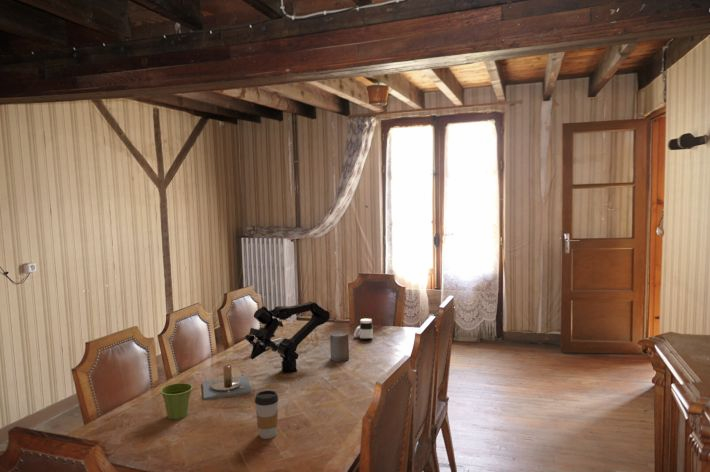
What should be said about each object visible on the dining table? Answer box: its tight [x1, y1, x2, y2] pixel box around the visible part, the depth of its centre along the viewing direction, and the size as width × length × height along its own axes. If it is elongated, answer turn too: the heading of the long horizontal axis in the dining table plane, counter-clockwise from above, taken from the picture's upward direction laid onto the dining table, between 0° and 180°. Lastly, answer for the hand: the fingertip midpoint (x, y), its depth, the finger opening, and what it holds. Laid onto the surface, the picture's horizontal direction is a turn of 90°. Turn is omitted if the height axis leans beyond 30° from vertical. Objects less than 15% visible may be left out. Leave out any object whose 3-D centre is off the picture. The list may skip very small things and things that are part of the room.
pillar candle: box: [329, 330, 350, 363], centre depth 255 cm, size 10×10×15 cm
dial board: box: [202, 375, 253, 401], centre depth 219 cm, size 20×20×2 cm
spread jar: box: [353, 318, 374, 342], centre depth 291 cm, size 12×11×12 cm
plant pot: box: [160, 382, 194, 420], centre depth 191 cm, size 12×12×11 cm
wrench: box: [249, 337, 285, 353], centre depth 274 cm, size 8×2×30 cm
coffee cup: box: [254, 390, 279, 440], centre depth 174 cm, size 8×8×15 cm
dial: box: [211, 364, 241, 391], centre depth 218 cm, size 13×13×10 cm
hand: (251, 358), depth 224 cm, fingers closed
